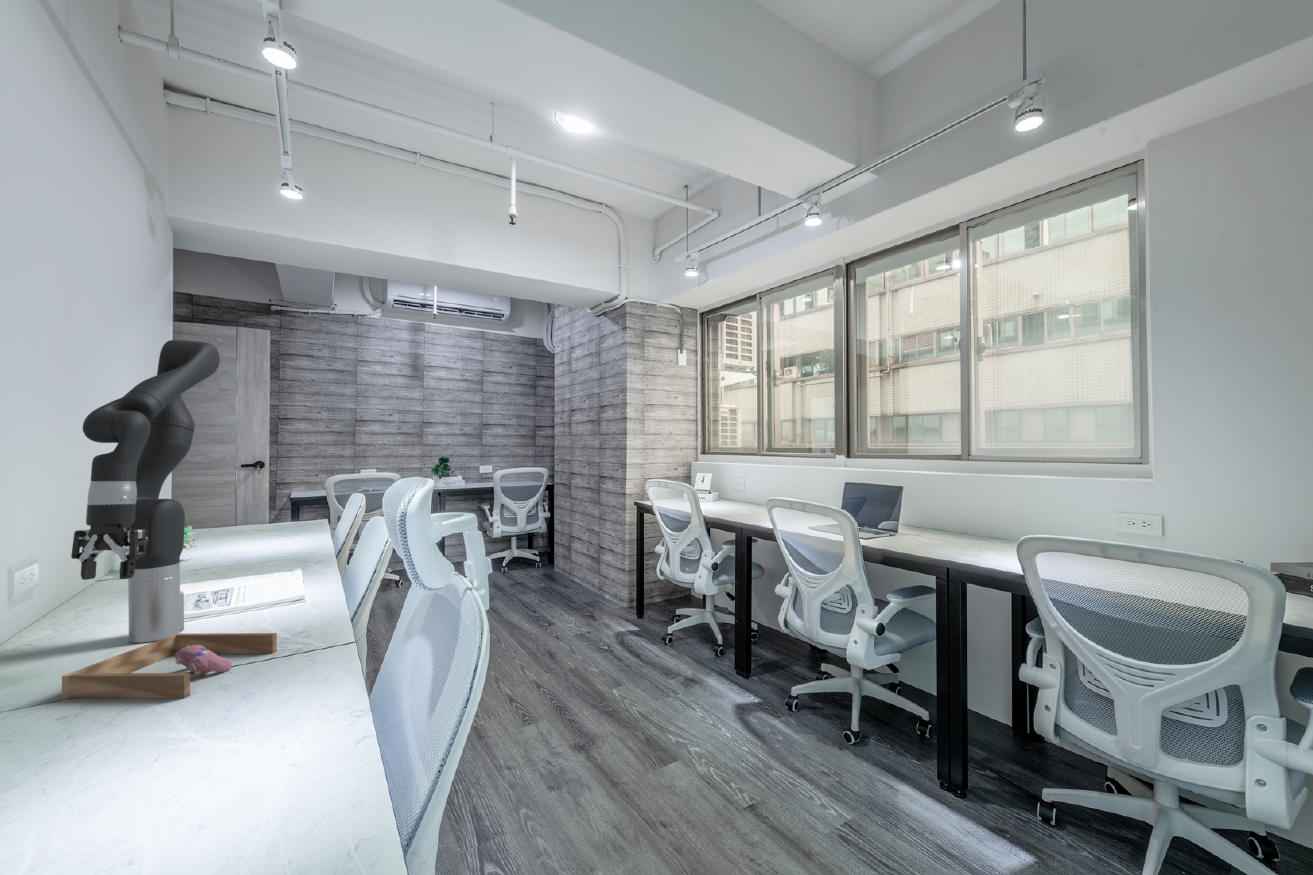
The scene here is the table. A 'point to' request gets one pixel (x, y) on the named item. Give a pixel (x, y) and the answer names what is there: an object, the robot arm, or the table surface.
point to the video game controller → (201, 660)
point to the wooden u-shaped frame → (116, 672)
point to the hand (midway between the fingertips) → (107, 578)
